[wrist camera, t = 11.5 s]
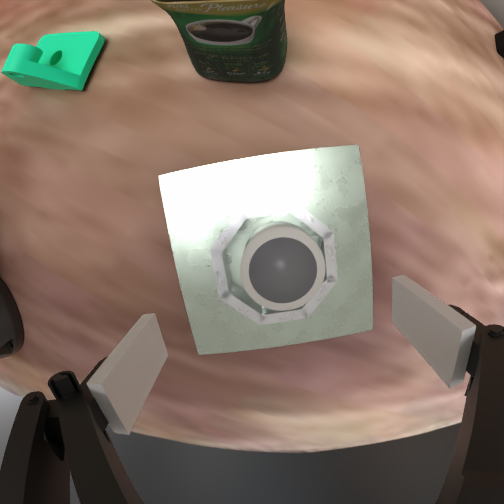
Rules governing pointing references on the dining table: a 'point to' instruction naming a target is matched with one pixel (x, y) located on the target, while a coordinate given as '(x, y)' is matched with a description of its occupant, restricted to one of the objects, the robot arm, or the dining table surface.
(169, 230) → the grey-green flat square piece
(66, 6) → the dining table surface
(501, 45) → the battery
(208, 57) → the coffee jar
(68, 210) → the dining table surface
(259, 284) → the white short cylinder
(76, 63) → the camera mount
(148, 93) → the dining table surface
